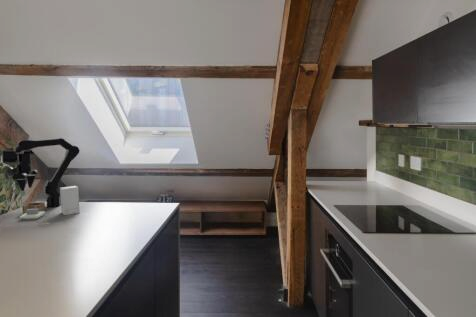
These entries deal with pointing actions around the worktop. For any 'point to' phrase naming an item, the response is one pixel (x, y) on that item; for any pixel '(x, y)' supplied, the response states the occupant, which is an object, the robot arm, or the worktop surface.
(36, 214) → the lid
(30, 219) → the mat
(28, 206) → the box
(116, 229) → the worktop surface
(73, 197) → the skincare box
